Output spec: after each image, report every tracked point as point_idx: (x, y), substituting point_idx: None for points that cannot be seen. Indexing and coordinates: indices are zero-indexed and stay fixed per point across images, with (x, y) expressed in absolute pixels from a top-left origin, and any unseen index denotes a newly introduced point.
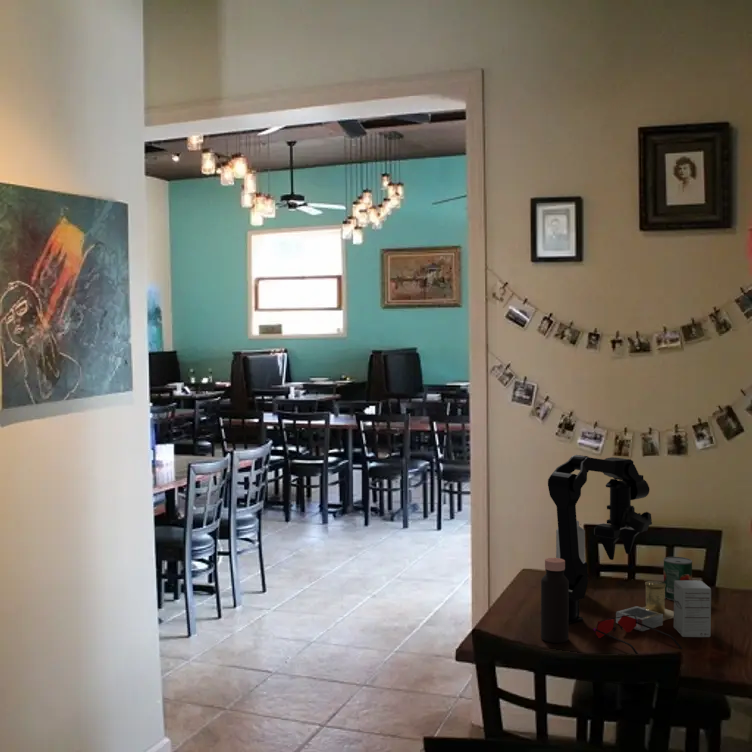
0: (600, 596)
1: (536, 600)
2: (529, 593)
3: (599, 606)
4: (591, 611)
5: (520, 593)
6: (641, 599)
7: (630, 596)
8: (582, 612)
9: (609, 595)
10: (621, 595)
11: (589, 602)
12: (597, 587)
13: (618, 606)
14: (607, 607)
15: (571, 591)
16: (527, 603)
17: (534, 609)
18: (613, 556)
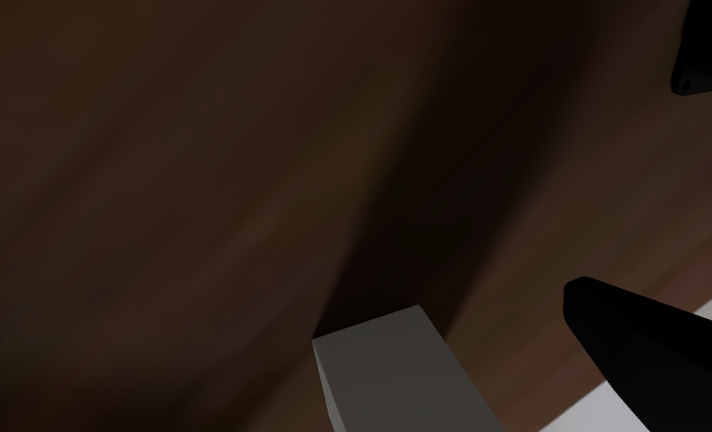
0: (267, 274)
1: None
2: (507, 399)
3: (429, 117)
4: (541, 61)
5: (532, 405)
6: (17, 104)
7: (60, 204)
8: (588, 73)
9: (197, 273)
10: (114, 246)
11: (412, 205)
12: (150, 415)
13: (328, 53)
14: (406, 74)
15: (434, 328)
16: None
17: (676, 217)
18: (621, 299)
